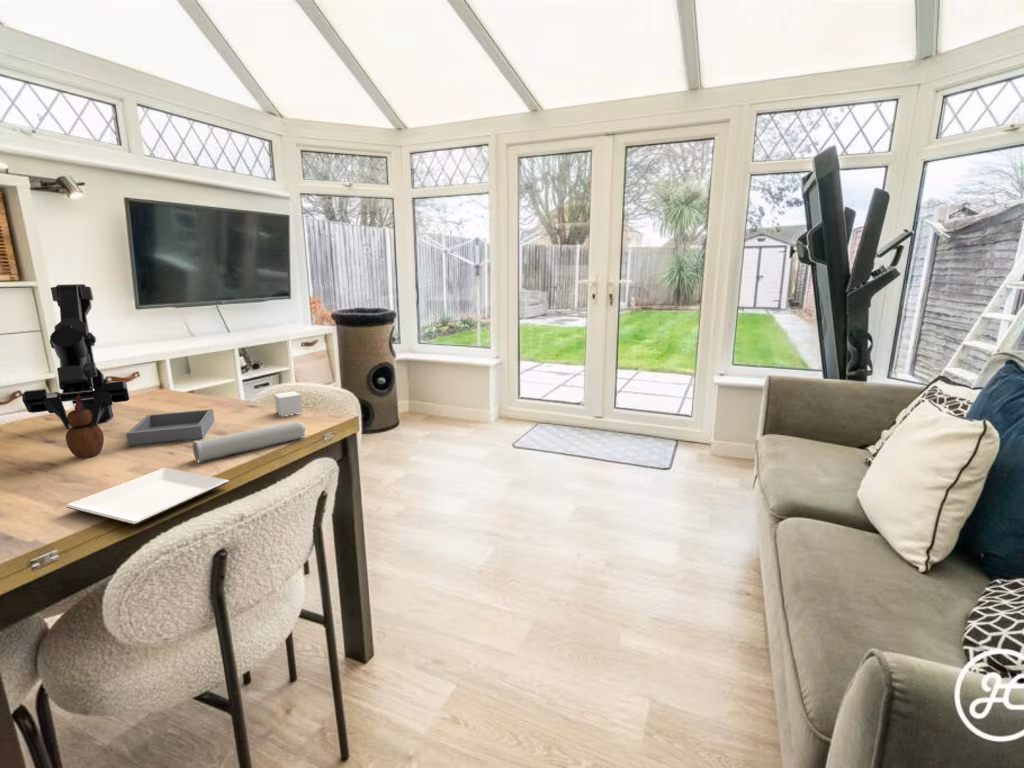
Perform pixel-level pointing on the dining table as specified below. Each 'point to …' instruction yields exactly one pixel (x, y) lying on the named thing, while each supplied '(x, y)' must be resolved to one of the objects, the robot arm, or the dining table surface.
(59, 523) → the dining table surface
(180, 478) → the plate
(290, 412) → the light grey cube
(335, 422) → the dining table surface
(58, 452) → the dining table surface
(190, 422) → the box
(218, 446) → the tube
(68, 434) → the wooden figurine
